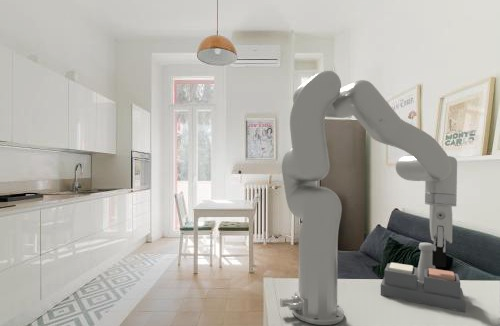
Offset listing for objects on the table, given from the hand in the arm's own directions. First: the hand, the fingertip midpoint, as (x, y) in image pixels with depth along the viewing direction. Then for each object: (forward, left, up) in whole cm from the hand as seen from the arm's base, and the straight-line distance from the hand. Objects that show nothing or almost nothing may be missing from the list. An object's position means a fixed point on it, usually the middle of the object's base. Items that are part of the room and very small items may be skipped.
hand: (438, 265), depth 84 cm
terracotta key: (+1, 0, -6) cm, 6 cm away
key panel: (-3, +3, -10) cm, 11 cm away
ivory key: (-6, +7, -6) cm, 11 cm away
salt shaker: (+7, +11, -10) cm, 17 cm away
